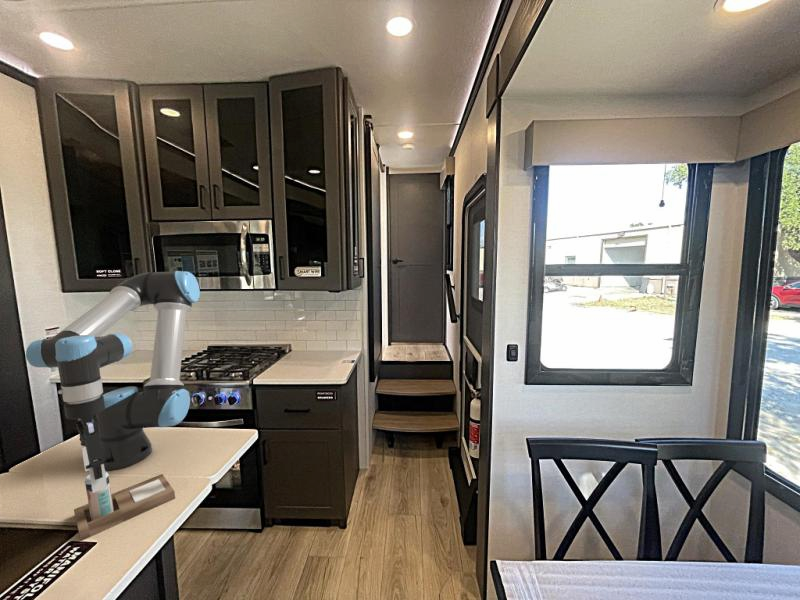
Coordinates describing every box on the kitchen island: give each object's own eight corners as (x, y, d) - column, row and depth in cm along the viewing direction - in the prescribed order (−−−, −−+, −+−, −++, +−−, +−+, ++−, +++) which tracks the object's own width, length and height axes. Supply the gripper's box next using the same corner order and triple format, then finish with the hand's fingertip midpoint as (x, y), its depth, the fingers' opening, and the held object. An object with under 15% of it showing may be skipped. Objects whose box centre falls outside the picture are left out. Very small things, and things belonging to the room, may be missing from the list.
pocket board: (75, 517, 96) (73, 508, 96) (163, 480, 110) (162, 473, 110) (80, 540, 88) (79, 531, 87) (175, 498, 102) (174, 490, 102)
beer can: (100, 511, 98) (93, 470, 96) (119, 510, 98) (112, 468, 96) (86, 525, 93) (79, 481, 91) (106, 523, 93) (99, 479, 92)
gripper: (59, 391, 97) (70, 467, 99) (68, 417, 80) (82, 508, 82) (95, 383, 102) (105, 455, 105) (111, 406, 85) (123, 491, 88)
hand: (95, 478), depth 93 cm, fingers open, 13 cm apart
